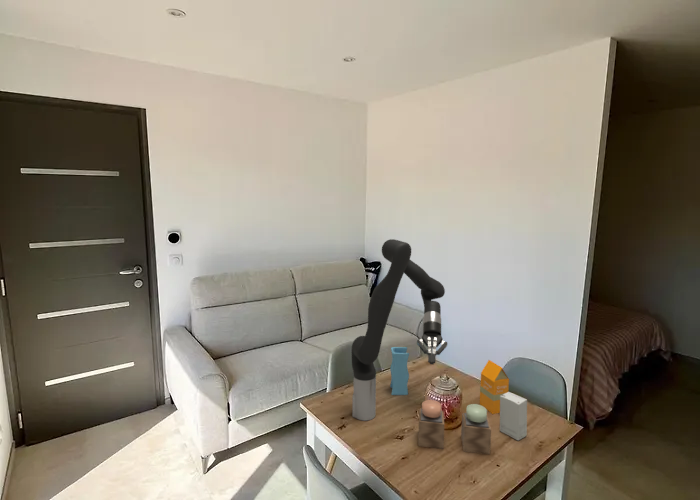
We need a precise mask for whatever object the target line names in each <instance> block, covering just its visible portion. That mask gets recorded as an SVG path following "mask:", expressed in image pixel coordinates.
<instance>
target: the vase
mask: <svg viewBox="0 0 700 500" xmlns="http://www.w3.org/2000/svg"><path fill="white" fill-rule="evenodd" d="M390 351H391V365H390V367H389V369H390V375H391V376H390V377H391V380H390V381H391V382H390V386H389V387H390V388H391V396H407V395H408V394H409V391H408V390H409V389H408V382H409V378H410V374H409V370H408V359H409V356H410V353H409V352H408V346H393V347H390Z"/></svg>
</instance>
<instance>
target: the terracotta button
mask: <svg viewBox="0 0 700 500" xmlns="http://www.w3.org/2000/svg"><path fill="white" fill-rule="evenodd" d="M421 409H422V413H423V414H424V415H425V416H427V417H431V418H436V417H439V416H440V415H441V411H442V404H441V402H439V401H436V400H434V399H425V400H424V401H422V403H421Z"/></svg>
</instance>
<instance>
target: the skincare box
mask: <svg viewBox="0 0 700 500" xmlns="http://www.w3.org/2000/svg"><path fill="white" fill-rule="evenodd" d="M527 427H528V399H526V398H524V397H523V396H520V395H517V394H515V393H512V392H510V391H508V392H507V393H505V394H503V395H501V396H500V413H499V431H500V432H501V433H503V434H505V435H507V436H508V437H510V438H512V439H514V440H516V441H520V440H523V439H524V438H525V437H527V434H528V431H527V430H528V428H527Z"/></svg>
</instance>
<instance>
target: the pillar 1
mask: <svg viewBox="0 0 700 500" xmlns="http://www.w3.org/2000/svg"><path fill="white" fill-rule="evenodd" d="M444 416H445V415H444V410H441V415H440V416H439V417H436V418H431V417H427V416H425V415H424V414H423V413H422V408H418V439H417V440H418V445H417V446H418V447H424V448H425V447H426V448H432V449H439V450H440V449H441V450H444V443H445V418H444Z"/></svg>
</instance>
